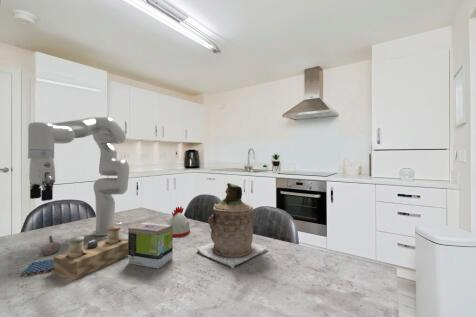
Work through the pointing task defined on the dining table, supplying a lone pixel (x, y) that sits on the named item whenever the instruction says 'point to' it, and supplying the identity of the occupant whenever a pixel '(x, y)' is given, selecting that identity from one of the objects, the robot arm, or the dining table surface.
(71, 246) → the knob sage
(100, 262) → the panel
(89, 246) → the dial
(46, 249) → the garlic bulb
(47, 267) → the woven mat
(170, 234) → the tea box
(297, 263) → the dining table surface
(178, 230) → the kitchen timer
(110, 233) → the knob terracotta
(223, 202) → the cookie jar
